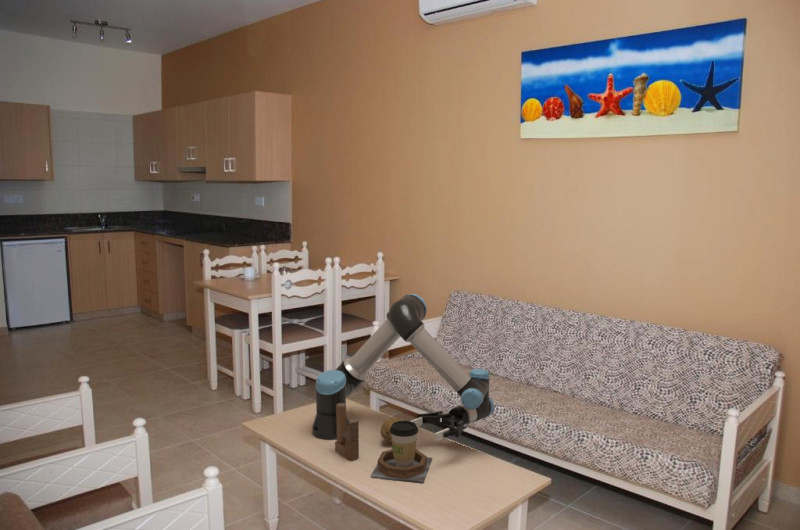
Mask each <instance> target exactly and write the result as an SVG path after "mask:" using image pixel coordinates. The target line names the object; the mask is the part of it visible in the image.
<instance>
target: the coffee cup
mask: <svg viewBox="0 0 800 530" xmlns="http://www.w3.org/2000/svg"><path fill="white" fill-rule="evenodd" d="M411 421H412V420H401V421H397V422H394V423H393V424H392V426H391V428H390V433H391V436H392V438H391V440H392V443H391V444H392V445H391V448H392V449H393V456H394V461H395V467H404V468H407V467H410V466H413V463H414V457H415V449H417V447H416V446H417V442H418V441H417V440H418V437H417V434H418V433H419V427H417V426H416V424H415V423H414V422H411Z"/></svg>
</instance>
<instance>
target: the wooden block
mask: <svg viewBox="0 0 800 530" xmlns="http://www.w3.org/2000/svg"><path fill="white" fill-rule="evenodd" d="M346 414H347V403H346V404H345V403H338V404H337V405H336V420H337V439H336V440H335V442H334V450H335V452H337V453H338V454H340V455H342V456H343V457H345V458H346V459H347V460H348V461H354V460H358V459H359V458H360V457H359V454H360V453H359V452H360V451H359V450H360V448H359V447H360V446H359V443H360V442H359V439H360V436H359V433H360V432H359V420H356V421H353V422H350V424H349V425H348V426H347V428H346Z"/></svg>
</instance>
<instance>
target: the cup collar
mask: <svg viewBox="0 0 800 530" xmlns="http://www.w3.org/2000/svg"><path fill="white" fill-rule="evenodd" d="M432 461H433V457H431V456H430V457H429V456H427V455H425V454H424V453H422V452H421V451H420V450H418V449H417V448H416V449H415V457H414V463H413V466H410V467H407V468H404V467H395V461H394V456H393V448H392V449H389V450H384V451H381V454H380V455H379V457H378V459H377V462H376V465H375V467H374V469H373V471H372V473H371V474H370V477H372V478H371V479H377V478H380V479H379V480H387V479H388V481H397V482H398V481H399V482H404V483H405V482H407V483H414V484H415V483H416V484H424V483H425V480H426V477H427V474H428V471H429V470H430V466H431V464H432Z"/></svg>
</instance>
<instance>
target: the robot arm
mask: <svg viewBox="0 0 800 530" xmlns="http://www.w3.org/2000/svg"><path fill="white" fill-rule="evenodd" d="M427 312H428V306H427V303H426V301H425V300H424V298H423V297H421V296H419V294H415V293H410V294H409V293H408V294H405V295H404V296H402V297H401V298H399V299H398V300H396V301H395V302H393V303H392V304H391V306H390V307H389V310H388V312H386V315H385V316H386V320H385V321H384V322H383V323H382V324H381V325H380V326H379V327H378V328H377V330H376V331H374V332H373V334H372V335H371V336H370V337H369V338H368V340H366V341H365V342H364V343H363V345H361V346H360V348H359V349H358V350H357V351H356V352H355V354H354V355H353V356H351V357H347V358H345V359H343V361H342V362H341V363H340V364H339V366H337V367H336V368H335V369H331V370H330V369H329V370H326V371H323V372H320V373H319V374H318V375H317V377H316V378H315V402H316V404H315V406H316V407H315V408H316V414H315V417H314V421H313V423H312V427H311V428H312V435H313V436H314V437H315V438H319V439H320V440H321V439H322V440H337V420H336V405H337V404H338V403H345V404H346V405H347V398H348V397H349V396H350V395H351V394H352V393H354V392H355V391H357V390H358V389H359V388H360V386H361V384H362V383H363V382H364V381H366V379H367V373H368V372H369V370H370V369H372V367H373V366H374V365H375V364H376V363H377V362H378V361H379V360H380V359H381V358H382V356H384V355H385V353H386V352H388V351H389V350H390V348H391V347H392V346H393V345H394V344H395V343H396V341H398V340H399V339H400V338H402V340H403V341H404V342H405V343H410V344H411V346H412V347H414V349H415V350H416V351H417V352H418V353H419V354H420V355H421V356H422V357H423V358H424V359H425V360H426V361H427V362H428V364H429V365H430V366H431V367H432V368H433V369H434V370H435V371H436V373H438V374H439V375H440V376H441V378H443V379H444V381H445V382H447V384H448V386H450V387H451V388H452V389H453V390H454V391H455V392H456V393H457V394H458V395H459V397H460V400H461V401H460V402H461V405H458V406H455V407H452V408H451V409H450V410H449V411H448V413H444V414H443V411H441V410H440V411H436V412H426V413H418V414H417V418H415V419H412V420H410V421H411V422H414V423H415V424H416V426H417V428H419V427H420V426H422V425H423V424H438V425H446V427H447V428H445V429H442V430H440V431H437V432H435V433H434V441H435V442H439V441H440V440H443V439H446V438H448V437H455V438H459V436H461V434H462V433H463V431H464V430H466V429H467V427H468V425H470V424H473V423H475V422H477V421H481V420H483V419H486V418H487V417H488V418H489V417H490V416H491V415H493V414H494V412H495V407H496V406H495V404H494V401H493V399H492V398H491V397H490V380H491V379H490V372H489V371H488V370H487V369H485V368H474V369H473V368H472V369H470V371H469V373H467V372H466V371H465V370H464V369H463V367H462V366H461V365H460V364H458V362H457V361H456V360H455V359H454V358H453V357H452V355H450V354H449V353H448V352H447V350H446V349H445V348H443V346H442V345H441V344H440V343H439V342H438V341H437V340H436V339H435V338H434V336H432V334H431V333H430V332H429V331H428V330H427V329H426V328H425V323H424V322H423V320H424V319H425V317H426V315H427ZM350 423H351V422H350V419H349V417H348V414H347V413H346V428H347V426H348V425H349V424H350Z"/></svg>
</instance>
